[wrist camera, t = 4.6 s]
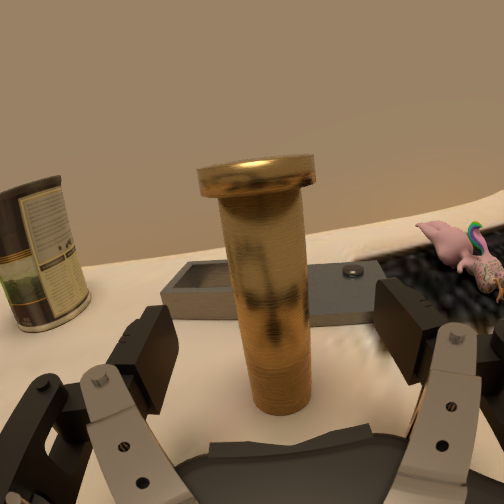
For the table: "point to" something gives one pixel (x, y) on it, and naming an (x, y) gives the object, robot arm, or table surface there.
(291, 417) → the table surface
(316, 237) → the table surface
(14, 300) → the coffee can
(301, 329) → the hinge pin
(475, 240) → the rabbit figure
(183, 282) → the grey tray fixture
